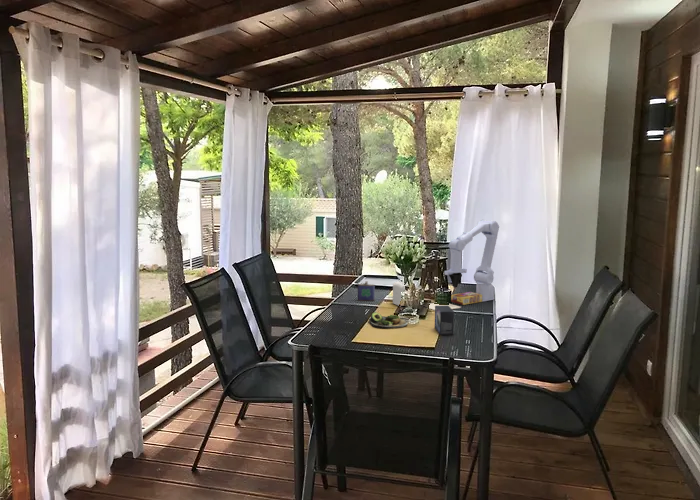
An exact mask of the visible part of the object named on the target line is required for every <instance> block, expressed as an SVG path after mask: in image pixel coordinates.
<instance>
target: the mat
mask: <svg viewBox="0 0 700 500" xmlns="http://www.w3.org/2000/svg"><path fill="white" fill-rule="evenodd" d="M434 303H435V302H430V303H429V304H430V305H429V310H431V309H432V310H433V311H435V306H447V305H439V304H434ZM448 306H449V307H450V308H451V309H452V310H456V309H461V308H462V306H459V305H456V304H452V303H449V305H448ZM432 310H431V311H432Z"/></svg>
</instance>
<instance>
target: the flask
mask: <svg viewBox="0 0 700 500" xmlns="http://www.w3.org/2000/svg"><path fill="white" fill-rule="evenodd" d="M368 282H369V281H365V282H363V283H358V284H357V301H359V302H365V301H366V302H374V301H375V300H376V299H375V287H376V286H375V285H376V284H374V283H368Z"/></svg>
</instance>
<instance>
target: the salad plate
mask: <svg viewBox="0 0 700 500" xmlns="http://www.w3.org/2000/svg"><path fill="white" fill-rule="evenodd" d="M407 321H410V318H408V317H407V318H406V317H401V315H398V316H397V314H395V315H394V314H389V315H387V316H386V315H385V316H382V314H380V313H379V312H372V313H371V315H370V317H369V318H368V322H369V324H370V326H372V327H373V328H376V329H387V330H388V329H399V328H404V327H406V326H408V322H407Z"/></svg>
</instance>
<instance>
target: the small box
mask: <svg viewBox="0 0 700 500" xmlns="http://www.w3.org/2000/svg"><path fill="white" fill-rule="evenodd" d="M454 316H455V311H454V309H451V308H450V307H449V306H448V305H447V306H435V310H434V329H435V330H436V331H437V333H438V334H439V336H440V335H443V336H444V335H454V321H455V320H454V319H455V317H454Z"/></svg>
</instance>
